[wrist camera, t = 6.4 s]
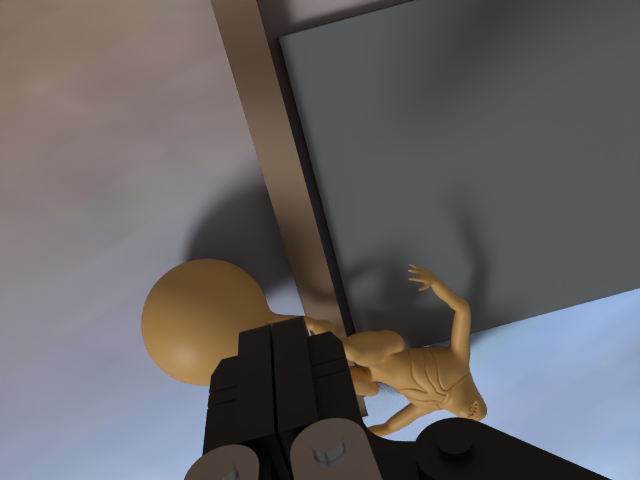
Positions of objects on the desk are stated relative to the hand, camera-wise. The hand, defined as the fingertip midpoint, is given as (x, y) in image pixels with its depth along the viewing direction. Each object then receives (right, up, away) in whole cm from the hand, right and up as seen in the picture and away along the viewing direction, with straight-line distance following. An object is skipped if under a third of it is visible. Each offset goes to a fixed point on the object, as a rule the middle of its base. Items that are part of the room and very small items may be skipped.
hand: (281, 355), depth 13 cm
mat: (+7, +5, +6) cm, 11 cm away
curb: (0, +3, +6) cm, 7 cm away
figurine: (-5, +1, +6) cm, 8 cm away
